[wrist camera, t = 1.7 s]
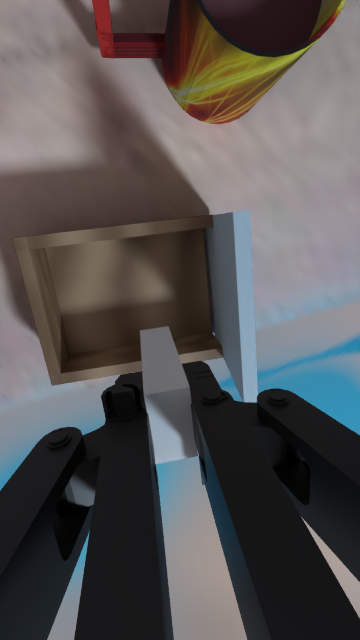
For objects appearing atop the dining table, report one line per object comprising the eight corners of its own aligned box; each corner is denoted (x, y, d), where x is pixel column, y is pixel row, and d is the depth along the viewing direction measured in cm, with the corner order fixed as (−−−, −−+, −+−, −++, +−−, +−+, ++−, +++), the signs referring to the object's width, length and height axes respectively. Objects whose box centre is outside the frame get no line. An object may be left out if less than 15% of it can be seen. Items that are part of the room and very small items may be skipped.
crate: (199, 216, 31) (212, 214, 26) (210, 337, 35) (223, 357, 30) (34, 236, 29) (12, 238, 24) (65, 360, 33) (51, 385, 28)
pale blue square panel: (250, 210, 18) (233, 212, 18) (258, 402, 22) (244, 404, 22) (215, 215, 30) (205, 216, 30) (224, 338, 34) (215, 339, 34)
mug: (97, 53, 26) (68, -80, 15) (242, -31, 26) (326, -235, 14) (154, 166, 29) (167, 128, 18) (284, 91, 29) (381, 4, 17)
